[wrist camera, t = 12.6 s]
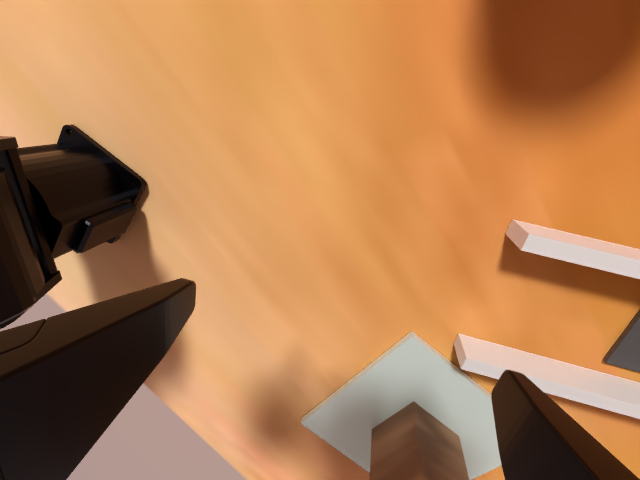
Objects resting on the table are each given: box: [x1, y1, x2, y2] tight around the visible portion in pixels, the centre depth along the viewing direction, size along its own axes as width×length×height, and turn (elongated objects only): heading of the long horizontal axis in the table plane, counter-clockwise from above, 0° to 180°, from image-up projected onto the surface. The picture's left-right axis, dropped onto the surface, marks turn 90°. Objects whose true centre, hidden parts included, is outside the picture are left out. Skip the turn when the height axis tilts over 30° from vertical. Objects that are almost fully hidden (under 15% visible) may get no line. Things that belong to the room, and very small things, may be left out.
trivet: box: [301, 331, 502, 480], centre depth 27 cm, size 14×14×1 cm
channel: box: [454, 219, 640, 419], centre depth 20 cm, size 16×10×2 cm, turn 79°
